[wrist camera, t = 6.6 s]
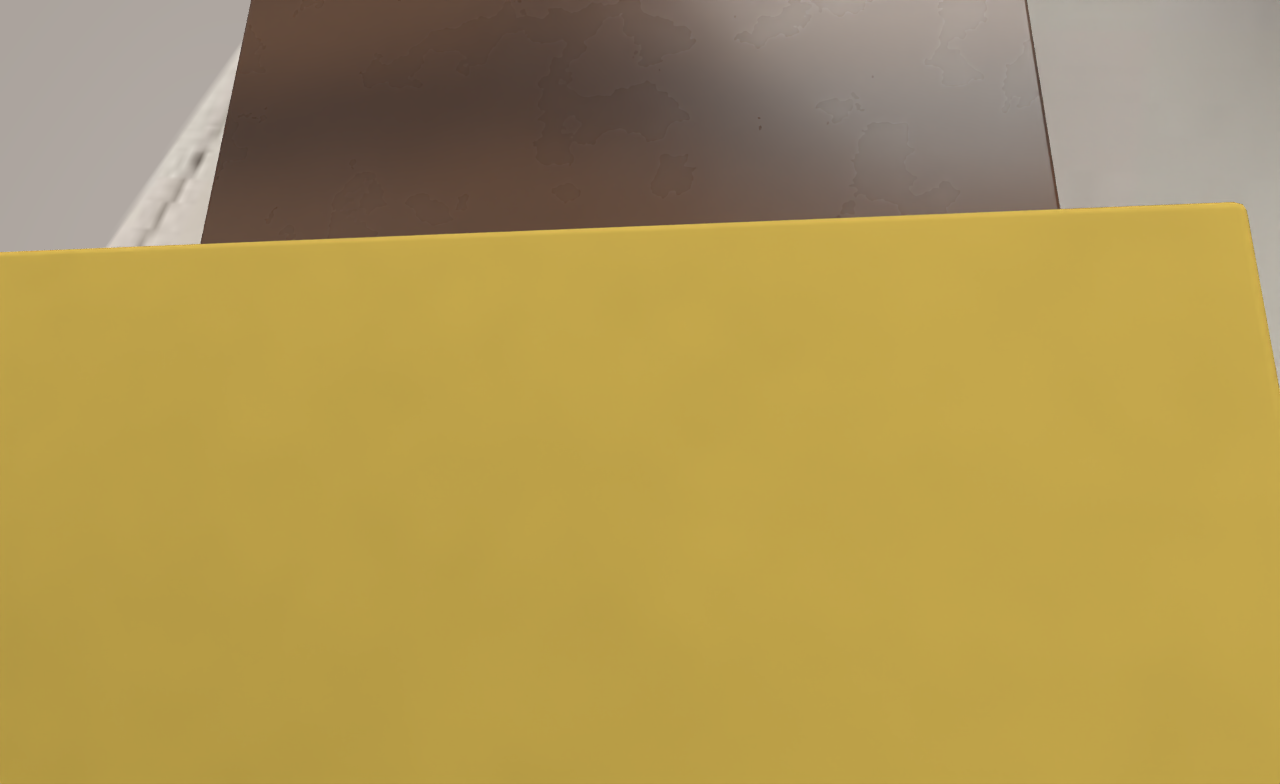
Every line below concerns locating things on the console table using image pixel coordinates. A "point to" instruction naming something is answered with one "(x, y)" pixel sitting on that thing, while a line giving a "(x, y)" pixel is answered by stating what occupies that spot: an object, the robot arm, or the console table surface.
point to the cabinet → (624, 115)
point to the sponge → (647, 506)
